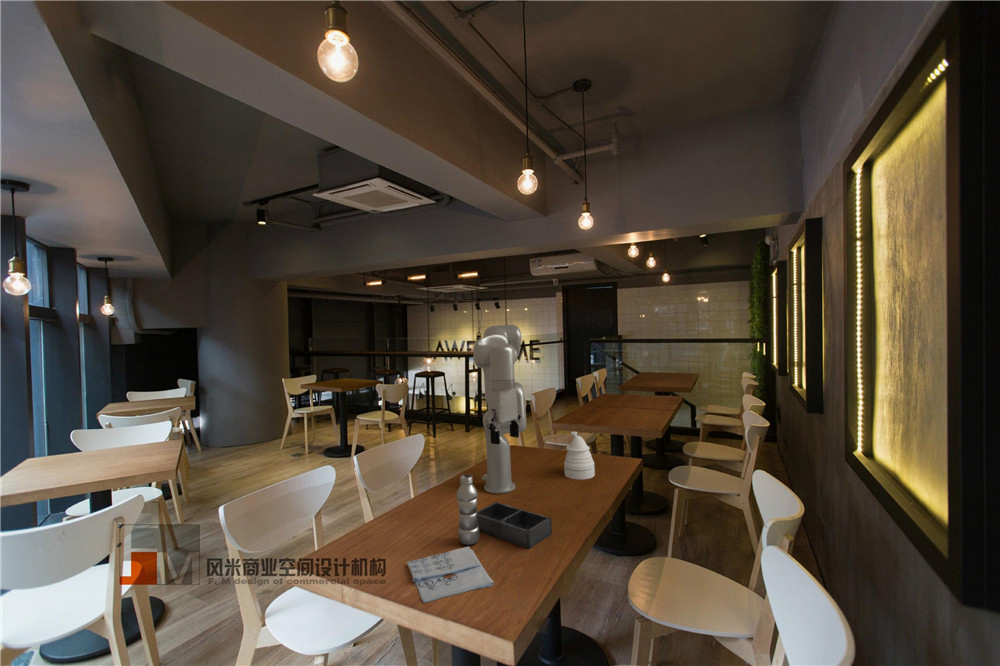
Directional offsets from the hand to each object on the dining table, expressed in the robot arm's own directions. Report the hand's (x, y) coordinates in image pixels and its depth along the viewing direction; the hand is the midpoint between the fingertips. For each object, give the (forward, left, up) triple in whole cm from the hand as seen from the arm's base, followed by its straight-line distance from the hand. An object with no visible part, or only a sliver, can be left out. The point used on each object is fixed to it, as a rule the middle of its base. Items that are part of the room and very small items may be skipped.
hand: (505, 440), depth 137 cm
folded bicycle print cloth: (+1, -27, -30) cm, 41 cm away
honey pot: (-11, +61, -30) cm, 69 cm away
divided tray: (-1, +2, -29) cm, 29 cm away
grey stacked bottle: (-7, -11, -30) cm, 32 cm away
